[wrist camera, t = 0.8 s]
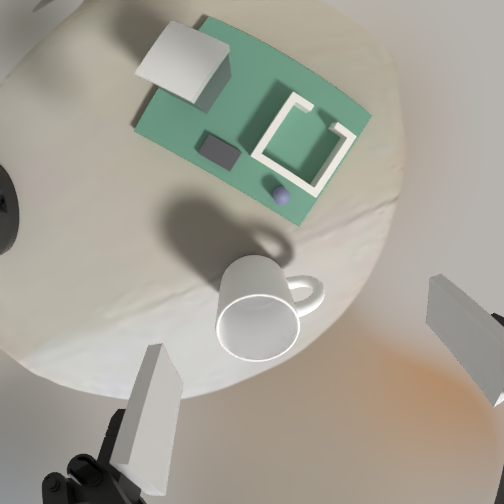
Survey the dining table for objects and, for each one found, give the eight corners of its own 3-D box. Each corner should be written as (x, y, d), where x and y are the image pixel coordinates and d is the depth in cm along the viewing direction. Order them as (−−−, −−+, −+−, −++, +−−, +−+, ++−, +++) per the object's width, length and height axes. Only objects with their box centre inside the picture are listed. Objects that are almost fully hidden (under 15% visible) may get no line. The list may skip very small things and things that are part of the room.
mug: (307, 238, 36) (331, 274, 26) (318, 295, 39) (339, 342, 29) (212, 261, 37) (203, 304, 27) (231, 316, 39) (229, 368, 30)
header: (249, 155, 31) (250, 156, 29) (289, 94, 29) (293, 91, 27) (311, 194, 33) (316, 198, 31) (349, 136, 30) (356, 136, 28)
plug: (167, 94, 28) (134, 73, 18) (195, 52, 26) (176, 14, 16) (207, 115, 29) (190, 101, 19) (235, 72, 28) (233, 39, 17)
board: (137, 131, 30) (128, 130, 28) (210, 20, 26) (207, 10, 23) (297, 223, 35) (302, 231, 32) (368, 116, 31) (378, 114, 28)
